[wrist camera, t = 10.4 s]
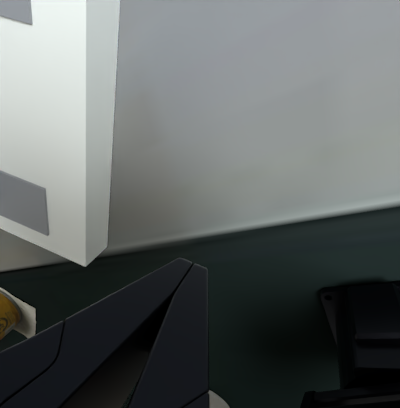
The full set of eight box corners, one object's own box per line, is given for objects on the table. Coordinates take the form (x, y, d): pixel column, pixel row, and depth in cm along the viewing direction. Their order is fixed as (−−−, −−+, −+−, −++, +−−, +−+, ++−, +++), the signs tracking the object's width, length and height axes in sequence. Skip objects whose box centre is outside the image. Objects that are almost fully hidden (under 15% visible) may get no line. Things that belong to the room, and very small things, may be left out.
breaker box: (125, -96, 15) (83, -129, 12) (107, 246, 27) (83, 268, 24) (-91, -132, 18) (-163, -165, 15) (-21, 192, 29) (-54, 206, 27)
